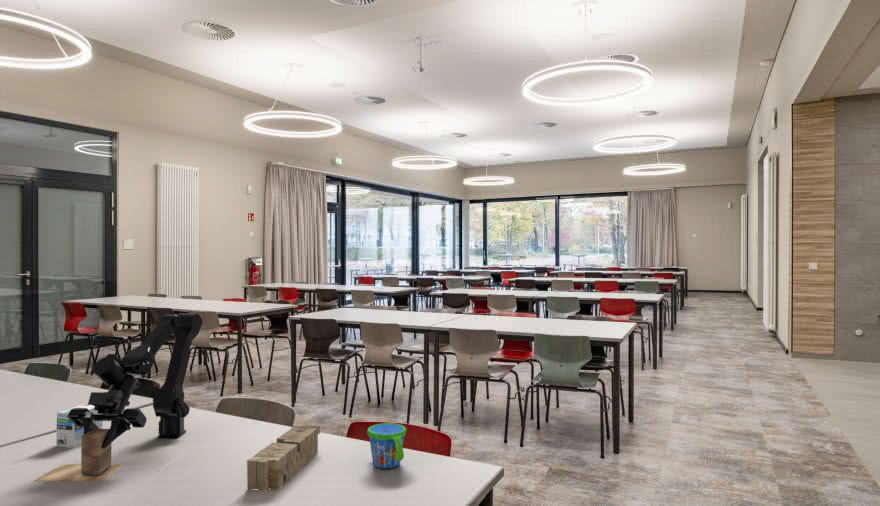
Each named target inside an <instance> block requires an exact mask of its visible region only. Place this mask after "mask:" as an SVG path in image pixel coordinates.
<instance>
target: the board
mask: <svg viewBox="0 0 880 506" xmlns="http://www.w3.org/2000/svg"><path fill="white" fill-rule="evenodd" d="M126 465H127V464H124V463H123V464H121V463H117V464H116V463H111V467H110V468H108V469H107V470H105V471H104V472H102V473H101V474H99V475H81V463H79V464H78V463H76V464H74V463H73V464H69V463H68V464H67V463H64V464H63V463H62V464H60V465H58V466H57V467H54V468H53V469H52V470H50V471H48V472H46V473H44V474H43V475H41V476H39V477H38V478H36V479H34V480H33V482H103V481H104V480H107V478H109V477H110V476H112V475H113V474H114V473H116V472H117V471H120V469H121V468H123V467H124V466H126Z"/></svg>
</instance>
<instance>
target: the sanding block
mask: <svg viewBox="0 0 880 506" xmlns="http://www.w3.org/2000/svg"><path fill="white" fill-rule="evenodd" d="M109 429H110V428H102V429H93V430H91V431H89V432H88V433H86V434H84V435H82V440H81V446H80V447H81V449H80V451H81V452H80V453H81V455H80V456H81V459H80V460H81V461H80V462H81V463H80V464H81V475H99V474H101V473H102V472H104V471H105V470H107V469H108V468H110V467H111V464H112V443H111V444H109V445H108V446H107V447H106V448H105V449H103V448H102V444H103V441H104V439H105V437H106V435H107V433H108V431H109Z"/></svg>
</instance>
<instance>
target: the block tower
mask: <svg viewBox="0 0 880 506" xmlns="http://www.w3.org/2000/svg"><path fill="white" fill-rule="evenodd" d="M320 434H321V425H320V424H306V423H304V424H303V423H295V424H294V425H292V427H290V429H289V430H287V431H286V432H284V433H283V434H281V435H280V436H278V437H277V438H276V442H271V443H270V444H268V445H267V446H266V447H264V448H262V449H261V450H259V452H257V453H256V454H253V456H251V457H250V458H248V459H247V460H246V470H247V471H246V476H247V477H246V478H247V480H246V481H247V483H246V484H247V488H248V489H258V490H268V489H269V488H273V489H272V490H277V489H279V488H280V487H281V486H282V487H283V486H284V483H287V482H289V481H290V480H291V479H292V478H293V477H294V476H295V475H296V474H297V473H298V472H300V471H301V468H304V467H305V466H306V465H307V464H308V463H309V462H310V461H311V460H312V459H313V458H314V457H315V456H316V455H317V454H318V453H319V450H318V449H319V445H318V444H319V441H318V440H319V439H318V438H319V437H318V436H319V435H320ZM317 452H318V453H317ZM316 453H317V454H316ZM315 454H316V455H315ZM314 455H315V456H314ZM313 456H314V457H313ZM312 457H313V458H312ZM311 458H312V459H311ZM310 459H311V460H310ZM309 460H310V461H309ZM308 461H309V462H308ZM307 462H308V463H307ZM306 463H307V464H306ZM305 464H306V465H305ZM293 475H294V476H293ZM282 487H281V488H282ZM281 488H280V489H281ZM248 489H247V490H248ZM280 489H279V490H280ZM258 490H257V491H258ZM269 490H270V489H269ZM269 490H268V491H269Z"/></svg>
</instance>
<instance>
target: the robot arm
mask: <svg viewBox="0 0 880 506" xmlns="http://www.w3.org/2000/svg"><path fill="white" fill-rule="evenodd" d="M202 325H203V319H202V317H201V315H200V314H199V313H187V312H186V313H185V312H180V313H178V314H164V315H163V316H161V317H160V320H159V322H158V323H157V325H156V326H155V327H154V328H153V330H152V331H151V332H150V333H149V334H148V336H146V338H145V339H144V341H143V342H141V344H140V345H139V346H137V347H135V348H133V349H131V350H129V351H128V352H127V353H126V354H125V355H124V356H122V358H121V359H119V358H118V355H116V354H115V353H108V354H107V355H106V356H104V357H102V358H101V359H99V360H98V361H97V362H95V363H94V364H93V366H92V368H91V369H92V370H91V371H92V373H93V374H94V375H95V376H96V377H97V378H98V379H99V380H100V381H101V382H102V383H104V385H106V386H110V387H109V389H108V391H104V392H101V391H97V392H96V391H94V392H90V396H89V399H88V402H87V404H88V405H93V406H95V407H94V409H95V410H97V411H98V413H92V412H90V411H89V410H88V409H87V408H74V407H72V408H73V409H71V410H70V412H69V414H68V415H67V417H68V418H69V419H70V420H71V421H72V422H73V423H74V425H75V426H78V427H84V434H86V433H88V432H89V431H91V430H93V429H99V428H98V427H97V426H96V422H97V421H102V422H111V423H110V427H109V428H108V429H109V431H108V433H107V435H106V437H105V439H104V441H103V444H102V448H103V449H105V448H106V447H107V446H108V445H109V444H111V445H112V443H113V442H114V441H115V440H116V439H117V438H119V437H120V436H121V435H122V434H124V433H126V431H130V430H131V426H132V428H136V429H137V428H143V429H144V427H145V426H146V423H147V419H148V418H147V416H146V415H145V414H144V412H143V411H142V410H141V409H140V408H126V407H130V404H131V402H130V401H129V400H130V398H131V395H132V393H133V390H134V389H139V388H141V383H140V381H139V378H137V377H135V376H146V375H147V374H148V373H149V372H150V371H151V369H152V367H153V365H154V363H155V361H156V360H155V357H156V355H157V352H159V350H160V349H161V348H162V347H163V345H164V343H165V342H166V341H167V340H168V339H169V337H170V336H171V335H172V334H173V336H174V338H175V339H174V344H173V348H172V351H171V356H170V359H169V363H168V368H167V372H166V375H165V379H164V383H163V384H162V386H161V387H157V388H156V389H155V390H154V396H153V398H152V409H153V412H154V414H155V417H157V418H158V417H159V418H160V419H159V421H158V435H157V438H158V439H177V438H180V437H181V436H182V435H184V434H185V433H186V432H187V429H185V418H187V416H188V415H189V413H190V410H191V409H190V408H191V407H190V406H189V405H188V404H187V403H186V402H185V401H184V400H185V392H184V389H183V387H182V384H183V380H184V375H185V371H186V367H187V363H188V358H189V354H190V349H191V345H192V341H194V339H196V337H197V336H198V335H199V333H200V331H201V328H202ZM134 375H135V376H134ZM157 438H156V439H157Z"/></svg>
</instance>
